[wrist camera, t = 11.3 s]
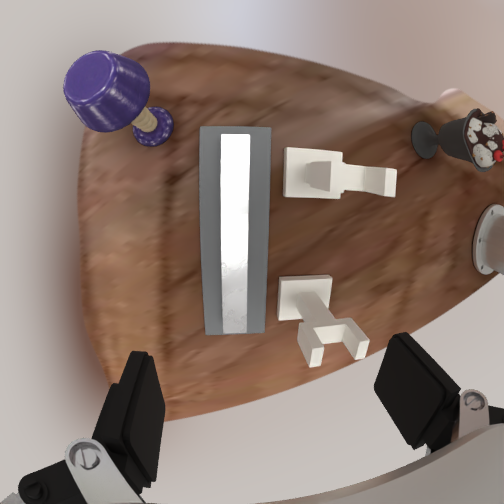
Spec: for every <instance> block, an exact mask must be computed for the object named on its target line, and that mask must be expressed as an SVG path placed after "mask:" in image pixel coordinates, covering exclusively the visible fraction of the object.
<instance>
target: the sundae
mask: <svg viewBox="0 0 504 504" xmlns="http://www.w3.org/2000/svg"><path fill="white" fill-rule="evenodd" d="M496 122H497V120H496V116H495V113H494V112H493V111H491V112H489V113H486V114H484V113H482V112H481V110H480V109H473V110H471V111H470V113H469V114H468V116H467V117H465V118H462V119H458V120H454V121H451V122H448V123H446V124H444V125H443V126H442V127H441V129H440V131H439V134H438V135H436V133H435V131H434V130H433V128H432V127H431V126H430V125H429V124H428V123H426V122H418V123H417V124H416V125H415V126H414V127H413V130H412V143H413V146H414V149H415V151H416V152H417V154H418V155H420V156H421V157H422V158H425V159H428V158H431V157H433V155H434V154H435V153H436V150H437V147H438V144H439V145H440V146H441V147H442V149H443V151H444V152H445V153H446V154H447V155H449V156H452V157H454V158H458V159H462V160H466V161H469V162H471V163H473V164H474V166H475V167H476V169H477V170H478V171H480V172H486V171H488V170H490V169H491V168H492V167H493V166H494V165H495V161H498V162H501V161H502V159H503V157H504V155H503V154H502V152H503V151H504V136H503V133H502V132H501V131H500V129H499V128H498V127H497V126H496V125H495V124H494V123H496Z"/></svg>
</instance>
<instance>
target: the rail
mask: <svg viewBox="0 0 504 504" xmlns="http://www.w3.org/2000/svg"><path fill="white" fill-rule="evenodd" d="M249 152H250V135H222V136H221V283H222V317H223V334H227V333H247V267H248V206H249Z"/></svg>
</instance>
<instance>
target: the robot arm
mask: <svg viewBox="0 0 504 504" xmlns="http://www.w3.org/2000/svg"><path fill="white" fill-rule="evenodd" d="M473 261H474V265H475V267H476V269H477V270H478V272H480V273H482V274H485V275H487V274H490V273H492V272H493V271H494V270H495V271H497V272H499V273H501V274H503V275H504V207H503V206H501V205H498V204H492V205H490V206H489V207H488V208H487V209H486V210H485V211H484V213H483V214H482V216H481V218H480V220H479V222H478V225H477V228H476V231H475V235H474V241H473ZM460 390H461V388H460V387H459V386H458V385H457V384H456V383H455V382H454V381H453V379H451V377H450V376H449V375H448V374H447V373H446V372H445V371H444V370H443V369H442V368H441V367H440V366H439V365H438V364H437V362H436V361H435V360H434V359H433V358H432V357H431V356H430V355H429V354H428V353H427V352H426V351H425V350H424V349H423V348H422V347H421V346H420V345H419V344H418V343H417V342H416V341H415V340H414V339H413V338H412V337H411V336H410V335H409V334H408V333H407V332H403V333H399V334H395V335H393V336H392V338H391V339H390V340H389V343H388V346H387V349H386V352H385V355H384V359H383V361H382V364H381V367H380V370H379V373H378V375H377V378H376V381H375V383H374V391H375V393H376V394H377V396H378V397H379V399H380V400H381V402H382V404H383V405H384V407H385V409H386V410H387V412H388V413H389V415H390V416H391V418H392V420H393V421H394V423H395V425H396V426H397V428H398V429H399V431H400V433H401V434H402V436H403V438H404V439H405V441H406V443H407V444H408V445H411V446H412V448H413V449H414V450H415V449H417V448H419V447H421V446H423V445H424V444H425V443H426V444H427V450H426V455H425V457H423V458H421V459H419V460H417V461H415V462H413V463H410V464H408V465H406V466H404V467H401V468H399V469H396V470H394V471H391V472H389V473H386V474H383V475H381V476H378V477H375V478H373V479H369V480H367V481H363V482H360V483H357V484H354V485H351V486H347V487H344V488H340V489H336V490H333V491H328V492H324V493H320V494H315V495H311V496H306V497H300V498H295V499H289V500H282V501H275V502H267V503H257V504H504V409H503V408H498V407H493V406H488V402H487V399H486V397H485V396H484V395H483V394H482V393H481V392H479V391H477V390H473V389H469V390H465V391H464V392H463V393H462V394H461V396H460V395H459V394H458V393H459V391H460ZM164 417H165V402H164V399H163V395H162V391H161V388H160V384H159V380H158V376H157V372H156V368H155V364H154V359H153V357H152V356H148V353H147V352H142V351H132V352H131V353H130V356H129V358H128V361H127V363H126V366H125V368H124V371H123V374H122V376H121V379H120V381H119V384H117V383H113V384H112V385H111V387H110V389H109V392H108V394H107V397H106V400H105V403H104V405H103V408H102V410H101V413H100V416H99V419H98V421H97V424H96V427H95V430H94V433H93V436H92V439H90V438H82V439H77V440H75V441H73V442H71V443H70V444H69V446H68V447H67V449H66V451H65V460H62V461H60V462H58V463H55V464H53V465H51V466H48V467H46V468H43V469H41V470H38V471H36V472H33V473H30V474H28V475H26V476H24V477H23V478H22V479H21V481H20V483H19V485H18V491H19V492H18V493H17V494H14V493H12V494H11V495H9V496H8V497H7V498H6V499H4V500H3V501H2V502H1V503H0V504H155V503H146V502H145V501H144V500H143V498H142V497H141V496H140V495H139V494H141V493H142V489H143V487H146V488H150V487H151V482H155V481H156V477H157V468H158V460H159V452H160V444H161V437H162V430H163V423H164Z"/></svg>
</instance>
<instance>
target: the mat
mask: <svg viewBox="0 0 504 504" xmlns="http://www.w3.org/2000/svg"><path fill="white" fill-rule="evenodd" d="M222 135H250V152H249V206H248V267H247V333H227V334H223V317H222V283H221V136H222ZM270 164H271V128H269V127H243V126H203V127H200V148H199V201H200V243H201V268H202V287H203V304H204V318H205V332H206V335H228V334H251V333H265V312H266V289H267V263H268V235H269V203H270Z"/></svg>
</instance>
